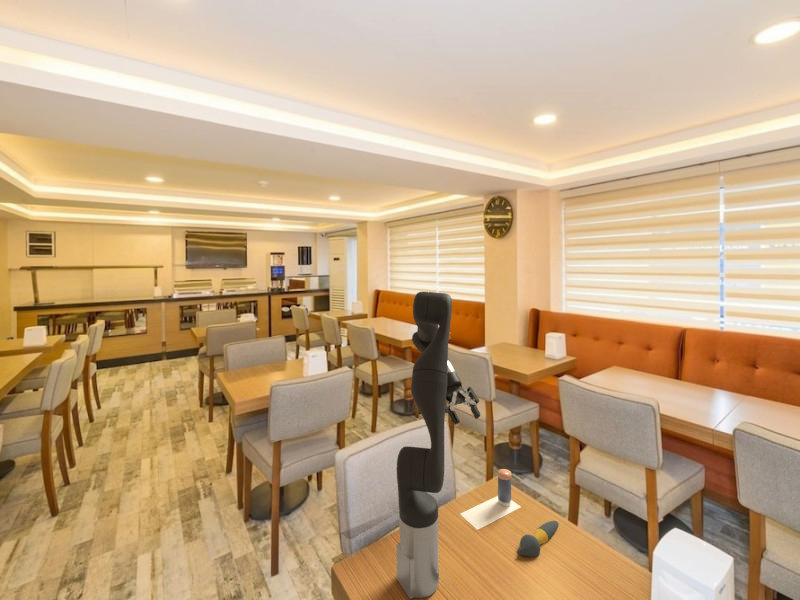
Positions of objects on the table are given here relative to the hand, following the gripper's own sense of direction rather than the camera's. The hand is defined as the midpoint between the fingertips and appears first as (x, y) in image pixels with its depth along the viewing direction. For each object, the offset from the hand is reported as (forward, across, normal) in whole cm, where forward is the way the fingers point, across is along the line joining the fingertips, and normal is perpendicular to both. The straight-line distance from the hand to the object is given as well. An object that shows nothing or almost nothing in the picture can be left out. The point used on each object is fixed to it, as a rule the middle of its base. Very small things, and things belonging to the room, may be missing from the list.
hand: (468, 420), depth 113 cm
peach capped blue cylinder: (+24, +7, +11) cm, 27 cm away
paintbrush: (+36, +4, +2) cm, 36 cm away
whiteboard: (+25, +1, +12) cm, 28 cm away
